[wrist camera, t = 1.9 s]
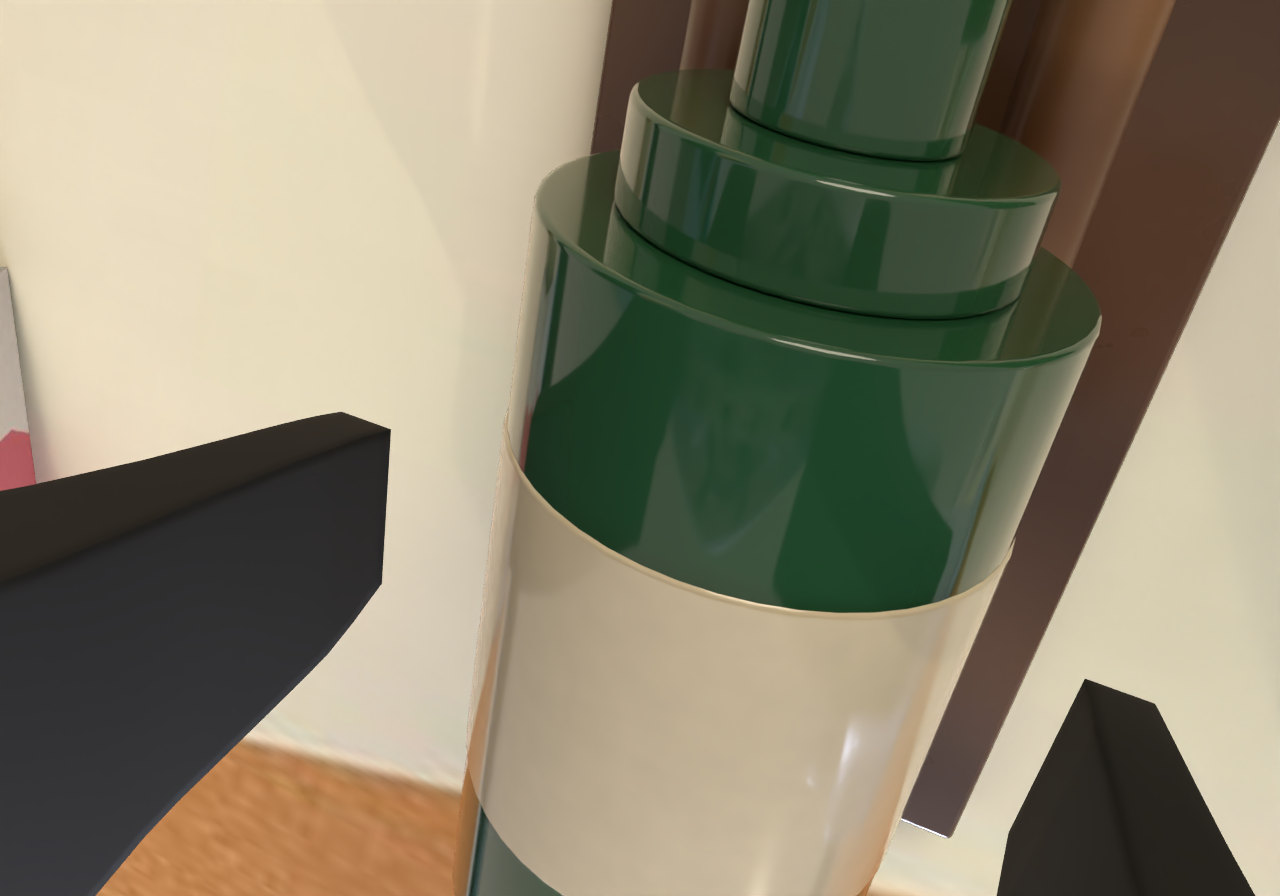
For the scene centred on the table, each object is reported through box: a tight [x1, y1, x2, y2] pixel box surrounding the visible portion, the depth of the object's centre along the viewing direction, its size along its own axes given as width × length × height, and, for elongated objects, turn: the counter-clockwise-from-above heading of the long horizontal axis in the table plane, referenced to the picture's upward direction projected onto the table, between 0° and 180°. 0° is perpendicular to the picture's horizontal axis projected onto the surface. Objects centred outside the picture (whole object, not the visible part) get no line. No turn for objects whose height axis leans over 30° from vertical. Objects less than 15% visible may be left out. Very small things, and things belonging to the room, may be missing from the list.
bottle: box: [453, 0, 1102, 896], centre depth 11 cm, size 14×5×5 cm, turn 170°
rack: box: [590, 0, 1280, 838], centre depth 14 cm, size 15×8×3 cm, turn 170°
